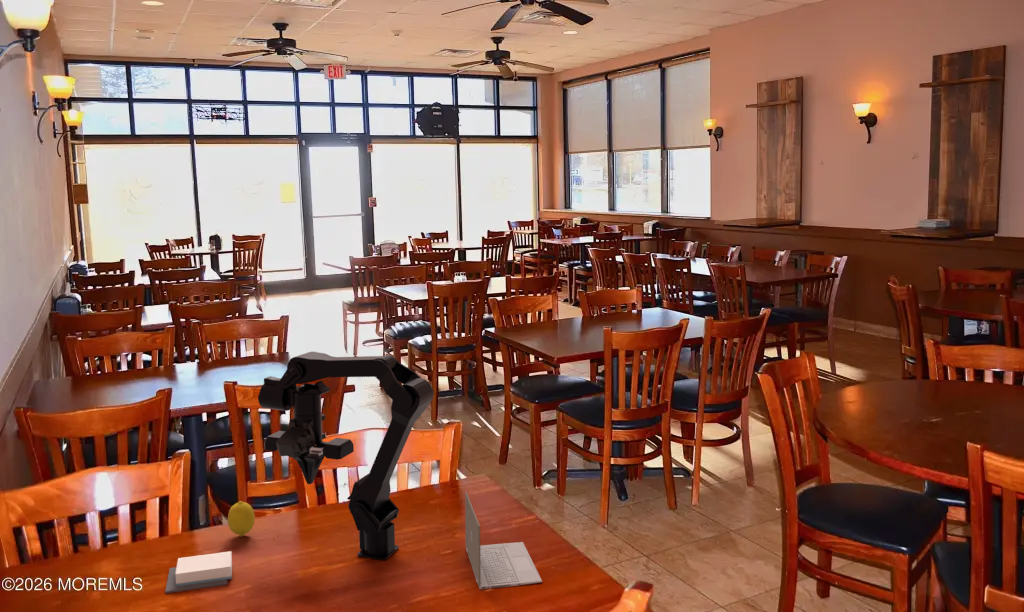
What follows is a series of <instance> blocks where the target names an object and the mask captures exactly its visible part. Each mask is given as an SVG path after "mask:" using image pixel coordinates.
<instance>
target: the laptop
mask: <svg viewBox="0 0 1024 612" xmlns="http://www.w3.org/2000/svg"><path fill="white" fill-rule="evenodd" d="M464 493H465V494H464V497H465V498H464V501H465V502H464V503H465V505H464V508H465V513H464V514H465V516H464V517H465V520H464V521H465V549H466V552H467V555H468V556H467V557H468V558H469V561H470V564H471V568H472V571H473V574H474V577H475V581H476V583H477V585H478V586H477V587H478V589H479V590H486V589H487V590H488V589H492V588H493V589H496V588H500V587H501V586H502V587H503V588H508V587H516V586H517V587H518V586H523V585H524V586H525V585H531V584H532V585H533V584H538V583H543V580H542V578H541V576H540V574H539V571H538V569H537V568H536V566H535V563H534V562H533V560H532V558H531V556H530V554H529V552H528V549H527V547H526V545H525V543H524V542H523V541H519V542H518V541H517V542H505V543H495V544H493V543H492V544H483V545H481V525H480V522H479V520H478V518H477V515H476V512H475V510H474V508H473V505H472V502H471V500H470V497H469V494H468V493H467V491H465V492H464Z"/></svg>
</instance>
